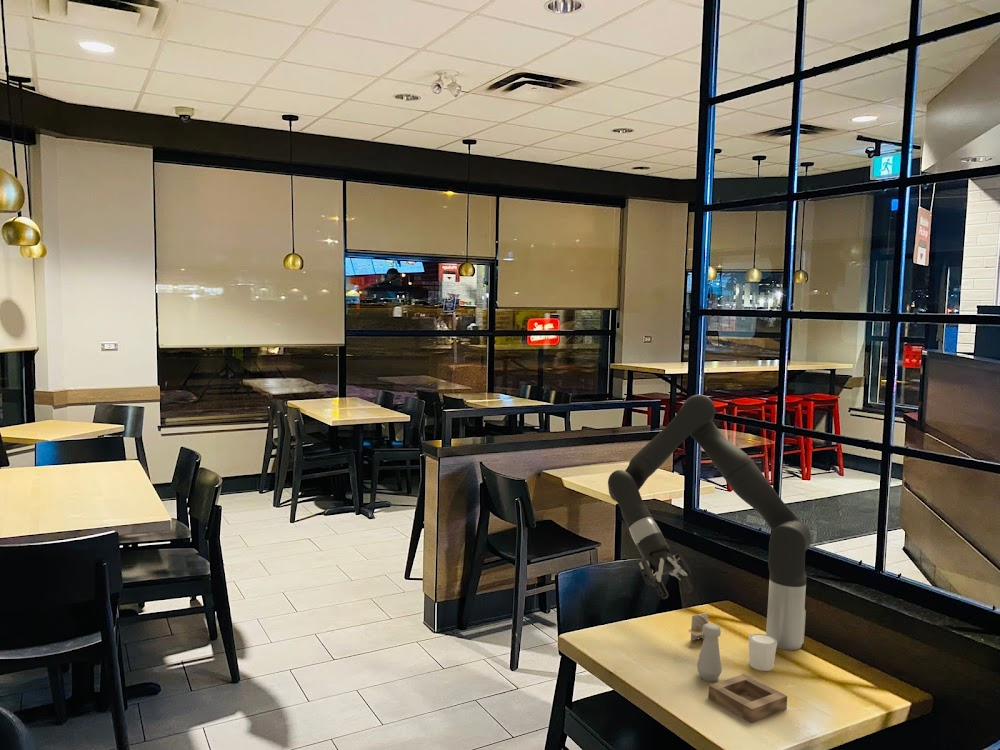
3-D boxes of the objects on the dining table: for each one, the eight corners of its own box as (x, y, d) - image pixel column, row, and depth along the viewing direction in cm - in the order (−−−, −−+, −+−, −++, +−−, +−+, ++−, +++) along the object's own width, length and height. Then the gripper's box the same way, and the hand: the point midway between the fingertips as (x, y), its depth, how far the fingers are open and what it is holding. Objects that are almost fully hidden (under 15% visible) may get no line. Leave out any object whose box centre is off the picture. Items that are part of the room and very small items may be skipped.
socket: (743, 685, 177) (743, 673, 177) (786, 708, 167) (787, 695, 167) (708, 698, 170) (708, 685, 170) (751, 722, 160) (752, 709, 160)
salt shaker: (722, 684, 177) (725, 631, 176) (697, 681, 178) (700, 628, 177) (719, 673, 183) (722, 622, 182) (695, 670, 184) (698, 619, 183)
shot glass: (776, 663, 190) (778, 636, 189) (774, 674, 184) (776, 646, 183) (748, 657, 193) (750, 631, 192) (745, 668, 186) (747, 640, 186)
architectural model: (715, 644, 201) (717, 617, 201) (695, 648, 198) (697, 620, 198) (706, 639, 204) (708, 612, 204) (686, 642, 201) (688, 616, 201)
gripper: (660, 542, 204) (689, 596, 195) (621, 549, 196) (649, 606, 188) (675, 528, 199) (706, 583, 190) (636, 535, 191) (666, 593, 183)
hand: (678, 594), depth 189 cm, fingers open, 8 cm apart
